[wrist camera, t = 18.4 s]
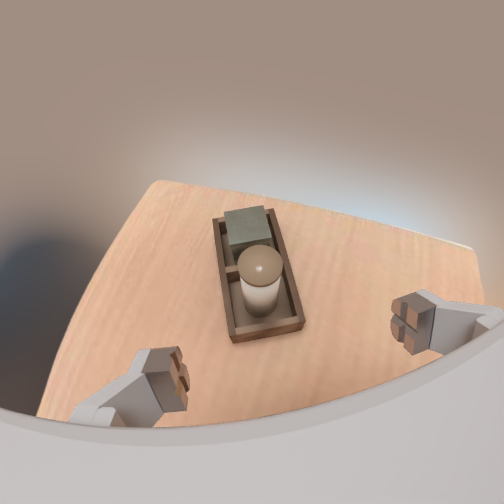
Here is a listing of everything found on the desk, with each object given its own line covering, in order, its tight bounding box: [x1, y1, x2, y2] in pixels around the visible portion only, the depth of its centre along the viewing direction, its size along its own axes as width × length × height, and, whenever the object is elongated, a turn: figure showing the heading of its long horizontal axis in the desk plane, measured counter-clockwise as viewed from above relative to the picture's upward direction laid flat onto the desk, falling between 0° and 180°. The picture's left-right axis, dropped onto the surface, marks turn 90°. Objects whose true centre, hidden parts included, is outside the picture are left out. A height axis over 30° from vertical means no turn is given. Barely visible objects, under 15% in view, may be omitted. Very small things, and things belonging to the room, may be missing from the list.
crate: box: [212, 208, 306, 343], centre depth 46 cm, size 11×21×5 cm, turn 10°
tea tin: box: [224, 205, 272, 265], centre depth 46 cm, size 6×6×8 cm
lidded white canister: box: [238, 245, 283, 318], centre depth 39 cm, size 5×5×13 cm
